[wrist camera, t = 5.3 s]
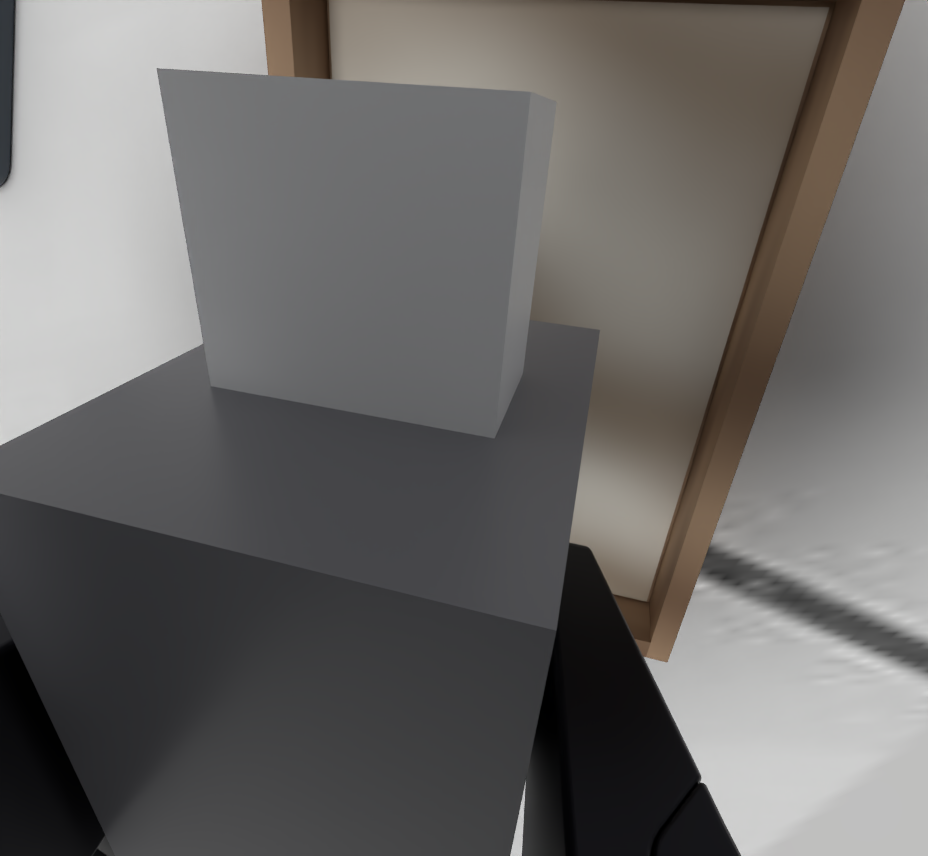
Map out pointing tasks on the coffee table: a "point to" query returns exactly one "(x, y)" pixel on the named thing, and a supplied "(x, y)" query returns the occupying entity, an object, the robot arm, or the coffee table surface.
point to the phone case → (6, 84)
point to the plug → (317, 489)
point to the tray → (647, 219)
